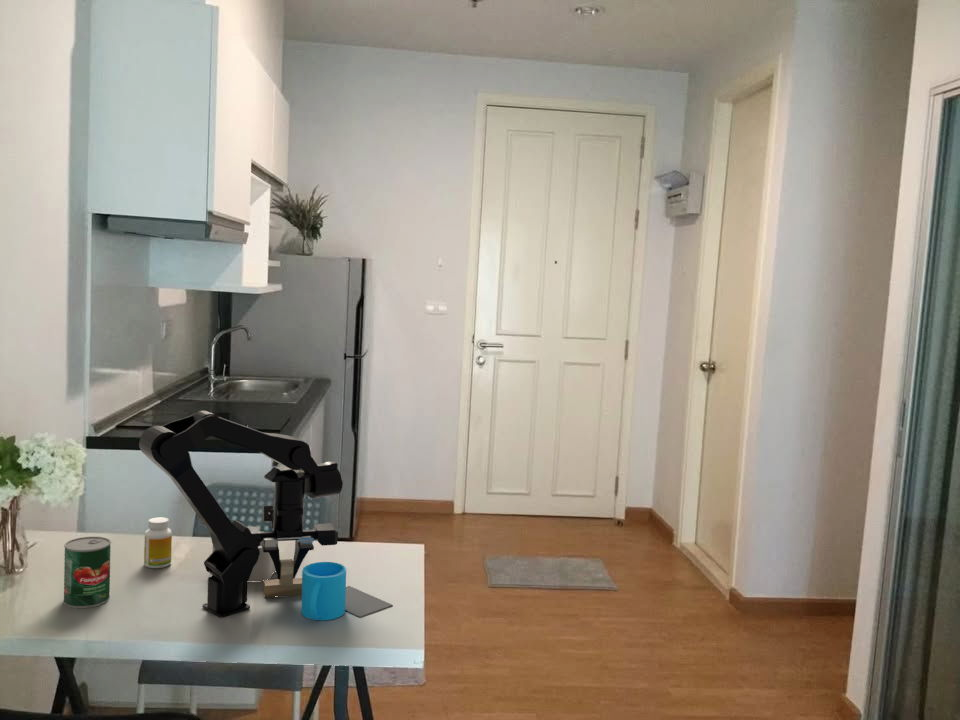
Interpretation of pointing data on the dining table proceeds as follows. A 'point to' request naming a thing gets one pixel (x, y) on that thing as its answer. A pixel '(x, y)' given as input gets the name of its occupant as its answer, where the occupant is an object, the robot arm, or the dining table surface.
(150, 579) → the dining table surface
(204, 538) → the dining table surface
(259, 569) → the lumpy-topped squat cylinder
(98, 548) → the canned tomato
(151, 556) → the supplement bottle
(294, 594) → the wooden t-shaped block
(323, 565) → the mug
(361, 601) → the charcoal mat
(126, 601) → the dining table surface
